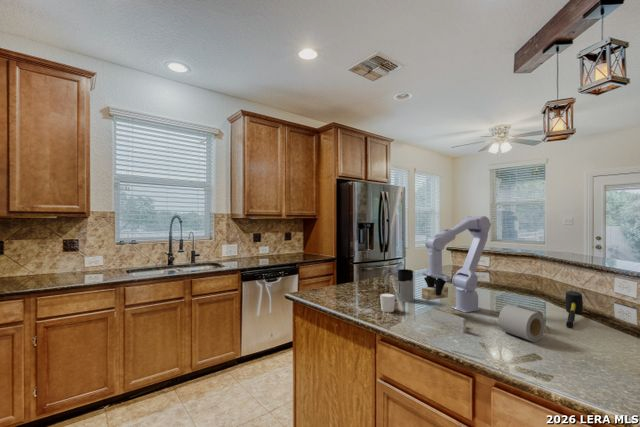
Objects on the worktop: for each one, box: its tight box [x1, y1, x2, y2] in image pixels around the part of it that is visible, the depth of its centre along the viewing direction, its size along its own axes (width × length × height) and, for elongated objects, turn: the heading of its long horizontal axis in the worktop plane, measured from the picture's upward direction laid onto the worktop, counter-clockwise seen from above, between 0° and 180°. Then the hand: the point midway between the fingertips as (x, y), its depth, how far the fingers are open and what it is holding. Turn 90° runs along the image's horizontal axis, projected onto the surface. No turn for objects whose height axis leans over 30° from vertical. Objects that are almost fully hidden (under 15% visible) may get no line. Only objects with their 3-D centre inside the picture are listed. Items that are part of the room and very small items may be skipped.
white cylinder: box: [516, 304, 544, 317], centre depth 121 cm, size 11×8×8 cm
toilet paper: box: [498, 304, 546, 343], centre depth 111 cm, size 10×10×10 cm
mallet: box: [564, 290, 584, 330], centre depth 129 cm, size 29×6×10 cm, turn 138°
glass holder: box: [385, 268, 415, 303], centre depth 159 cm, size 9×14×15 cm, turn 89°
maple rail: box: [421, 285, 449, 301], centre depth 138 cm, size 12×4×4 cm, turn 115°
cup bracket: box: [430, 306, 467, 334], centre depth 123 cm, size 16×5×5 cm, turn 25°
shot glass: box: [379, 292, 396, 313], centre depth 141 cm, size 7×7×7 cm
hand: (435, 294), depth 138 cm, fingers closed on maple rail, 3 cm apart
